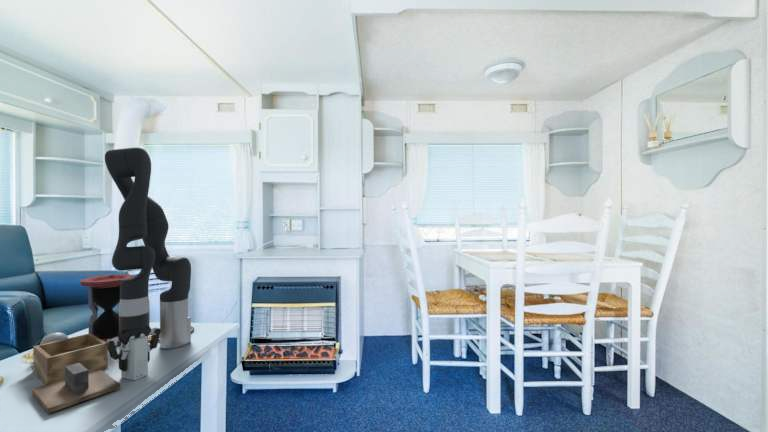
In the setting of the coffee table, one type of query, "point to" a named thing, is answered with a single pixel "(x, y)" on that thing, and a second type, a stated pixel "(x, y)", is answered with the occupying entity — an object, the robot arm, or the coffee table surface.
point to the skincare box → (137, 359)
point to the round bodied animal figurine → (53, 337)
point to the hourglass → (104, 304)
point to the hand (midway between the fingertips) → (134, 367)
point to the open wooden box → (68, 356)
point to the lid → (74, 388)
